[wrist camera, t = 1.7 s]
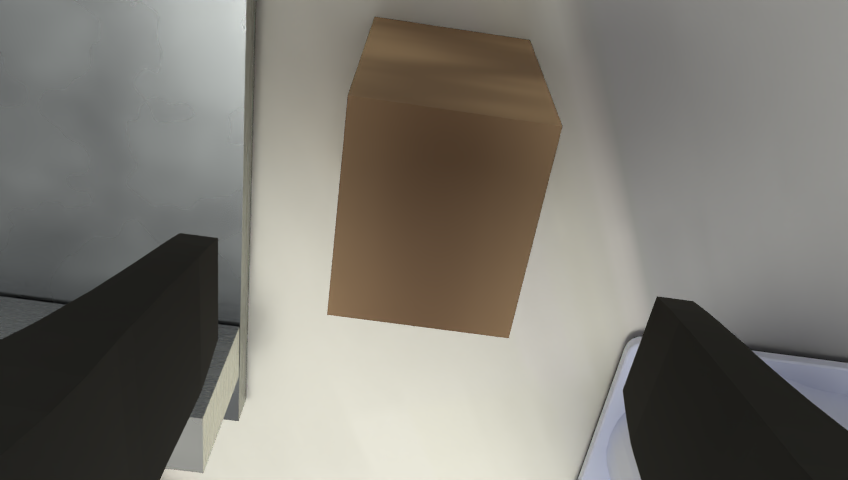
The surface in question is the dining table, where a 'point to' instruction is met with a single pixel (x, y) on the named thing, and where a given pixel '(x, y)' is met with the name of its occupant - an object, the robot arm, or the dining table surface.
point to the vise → (125, 143)
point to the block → (441, 178)
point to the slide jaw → (210, 407)
